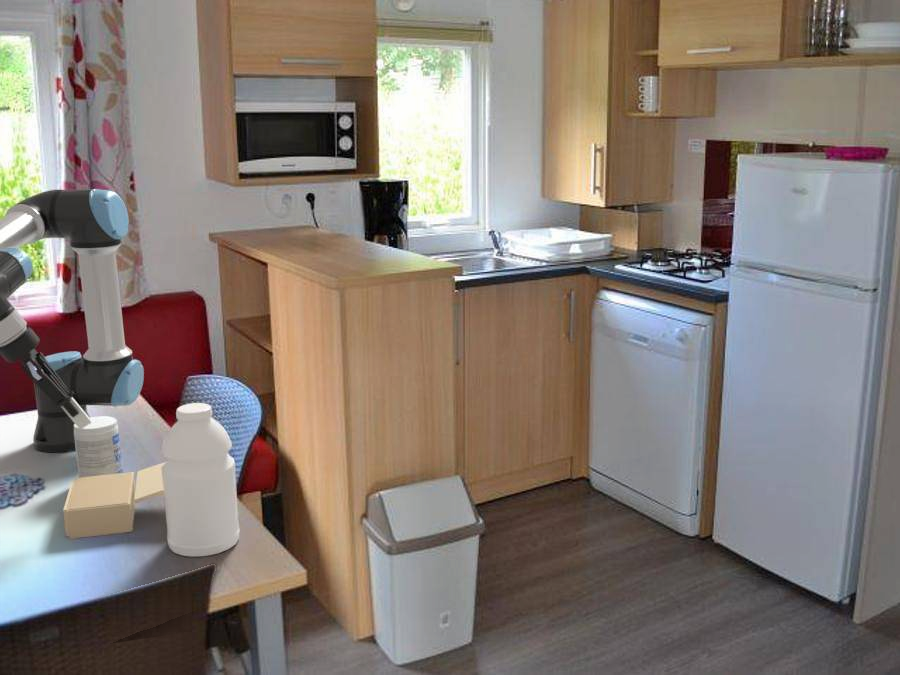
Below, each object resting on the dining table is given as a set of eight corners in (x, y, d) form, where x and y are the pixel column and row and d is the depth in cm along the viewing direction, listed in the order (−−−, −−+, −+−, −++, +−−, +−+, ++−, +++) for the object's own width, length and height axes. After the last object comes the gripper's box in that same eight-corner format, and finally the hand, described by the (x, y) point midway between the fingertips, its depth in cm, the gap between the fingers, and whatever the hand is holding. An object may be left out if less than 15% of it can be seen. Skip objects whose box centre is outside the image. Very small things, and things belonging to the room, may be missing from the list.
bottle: (175, 564, 178) (163, 423, 172) (161, 535, 190) (149, 403, 184) (248, 548, 185) (239, 412, 178) (230, 521, 197) (221, 392, 190)
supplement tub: (128, 485, 216) (122, 424, 212) (85, 494, 211) (78, 432, 207) (117, 471, 224) (111, 412, 220) (75, 480, 219) (68, 420, 215)
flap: (137, 471, 207) (191, 453, 209) (139, 475, 207) (192, 457, 209) (134, 499, 192) (192, 480, 194) (135, 504, 192) (194, 484, 194)
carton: (75, 503, 206) (72, 477, 204) (136, 497, 209) (133, 471, 208) (65, 539, 189) (62, 511, 188) (132, 531, 192) (129, 503, 191)
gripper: (-3, 338, 193) (70, 424, 203) (-8, 356, 181) (70, 446, 191) (29, 317, 194) (100, 404, 204) (27, 334, 182) (102, 425, 192)
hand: (85, 424), depth 198 cm, fingers closed
